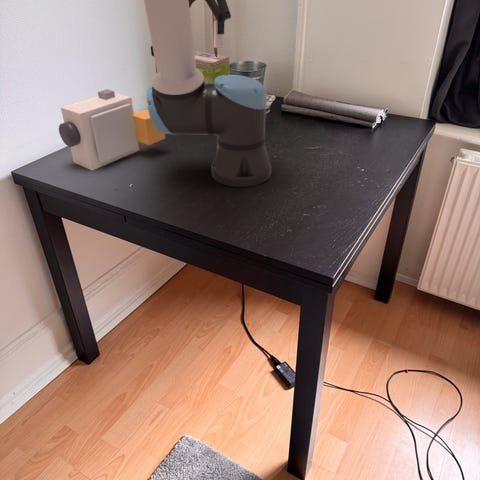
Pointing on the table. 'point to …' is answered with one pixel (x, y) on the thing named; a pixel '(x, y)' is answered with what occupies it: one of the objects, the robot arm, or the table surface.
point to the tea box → (211, 66)
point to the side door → (122, 131)
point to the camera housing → (89, 127)
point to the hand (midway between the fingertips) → (199, 47)
